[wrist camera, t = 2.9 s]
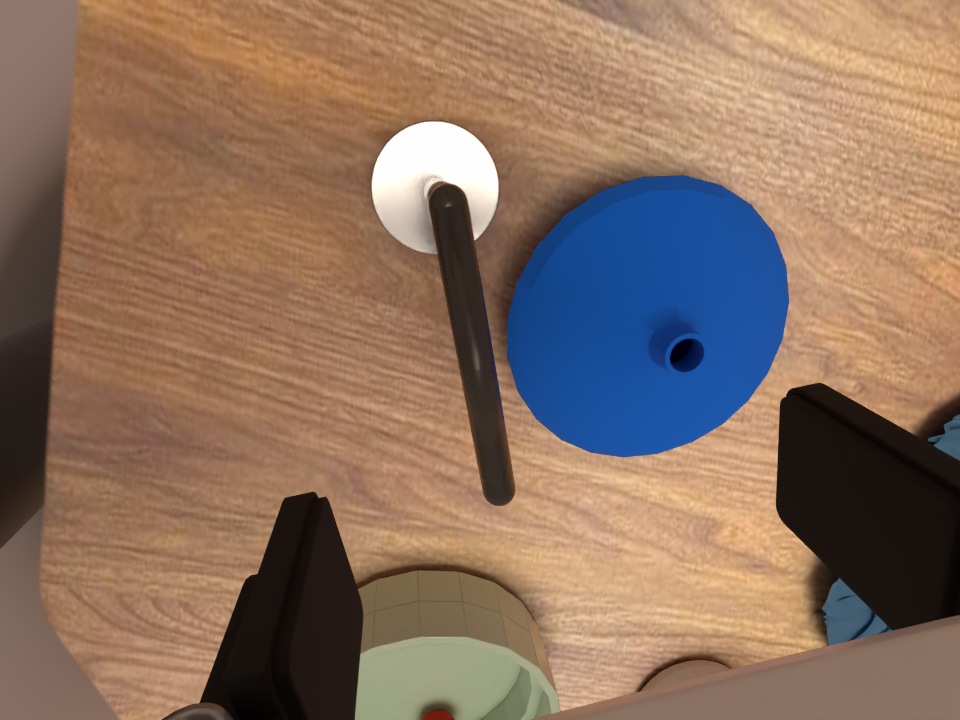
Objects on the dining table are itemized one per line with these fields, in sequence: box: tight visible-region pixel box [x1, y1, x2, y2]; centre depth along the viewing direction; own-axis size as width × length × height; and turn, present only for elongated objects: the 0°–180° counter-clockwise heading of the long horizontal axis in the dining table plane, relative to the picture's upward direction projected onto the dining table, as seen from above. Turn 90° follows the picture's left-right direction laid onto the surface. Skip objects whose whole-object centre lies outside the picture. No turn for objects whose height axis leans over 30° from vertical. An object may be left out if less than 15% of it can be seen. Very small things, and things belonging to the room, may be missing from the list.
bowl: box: [355, 570, 560, 720], centre depth 37 cm, size 17×17×6 cm
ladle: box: [371, 120, 515, 506], centre depth 25 cm, size 16×6×11 cm, turn 9°
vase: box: [507, 175, 789, 457], centre depth 29 cm, size 16×16×7 cm
